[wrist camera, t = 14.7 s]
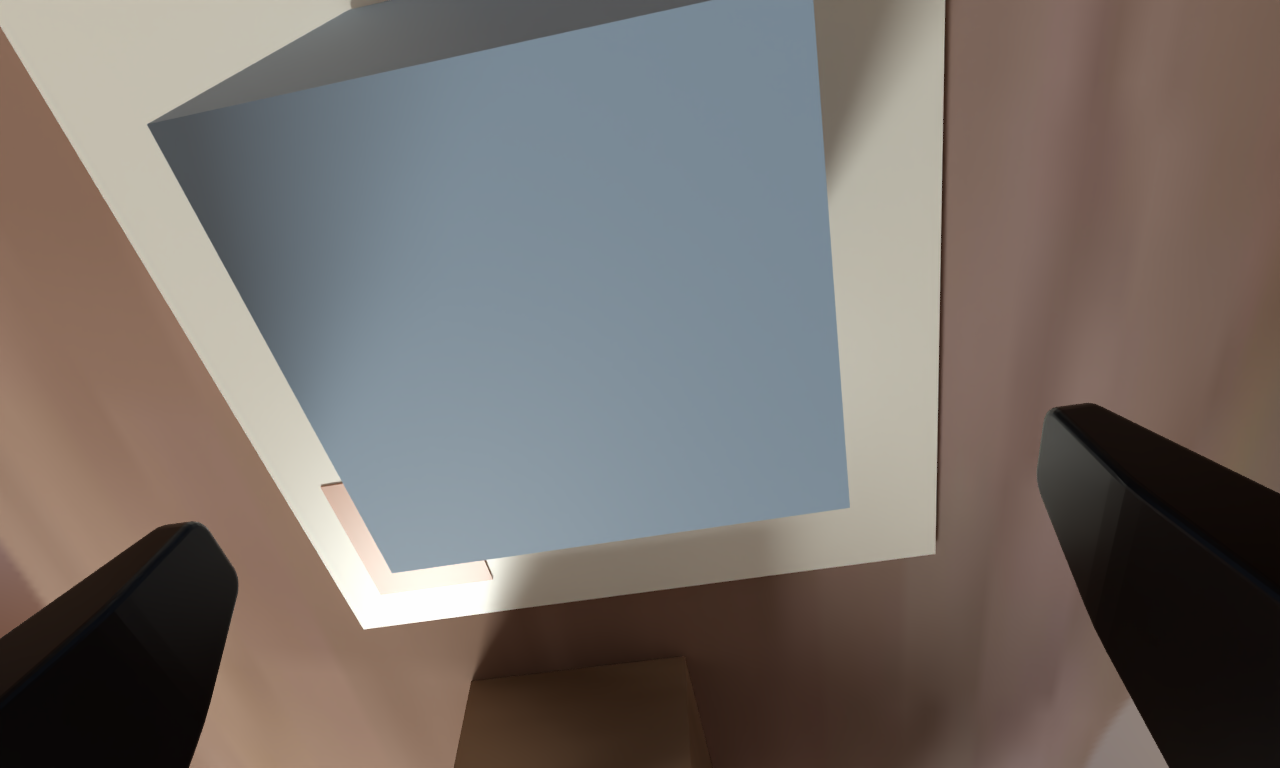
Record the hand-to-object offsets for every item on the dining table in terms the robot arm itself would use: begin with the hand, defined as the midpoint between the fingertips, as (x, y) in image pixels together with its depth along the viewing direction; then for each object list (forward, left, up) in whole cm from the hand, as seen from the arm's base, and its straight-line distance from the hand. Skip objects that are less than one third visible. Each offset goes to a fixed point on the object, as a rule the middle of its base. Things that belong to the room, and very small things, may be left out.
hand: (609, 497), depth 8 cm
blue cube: (0, -2, -5) cm, 5 cm away
